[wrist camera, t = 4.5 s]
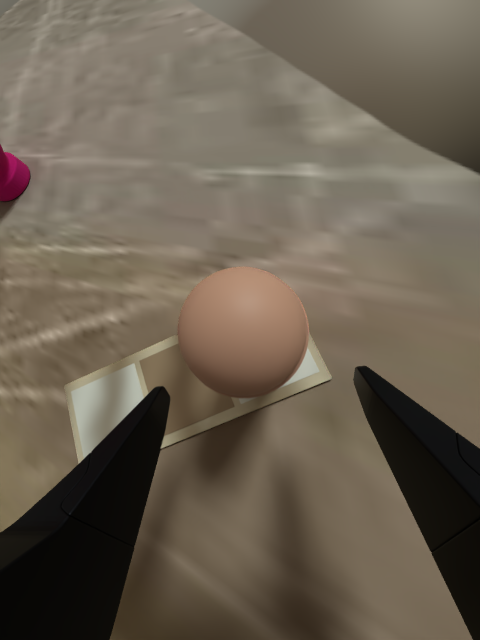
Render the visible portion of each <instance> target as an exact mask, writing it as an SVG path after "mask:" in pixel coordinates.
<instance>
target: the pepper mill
mask: <svg viewBox="0 0 480 640" xmlns="http://www.w3.org/2000/svg"><path fill="white" fill-rule="evenodd" d="M29 180H30V171H29V169H28V167H27V166H26V165H25V164H24V163H23V162H22V161H20V160H19V159H18V158H16V157H15V156H14V155H12V154H11V153H7V152H4V151H3V149H2V147H1V145H0V201H10V200H13V199H15V198H16V197H18V196H19V195H20V194H21V193H22V192H23V191H24V190H25V188H26V187H27V185H28V183H29Z"/></svg>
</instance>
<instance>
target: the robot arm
mask: <svg viewBox="0 0 480 640" xmlns="http://www.w3.org/2000/svg"><path fill="white" fill-rule="evenodd" d="M353 381H354V385H355V388H356V391H357V394H358V396H359V399H360V402H361V405H362V408H363V411H364V413H365V416H366V418H367V421H368V423H369V425H370V427H371V429H372V431H373V433H374V435H375V437H376V439H377V442H378V444H379V446H380V448H381V450H382V452H383V454H384V456H385V458H386V460H387V462H388V464H389V466H390V468H391V471H392V473H393V475H394V477H395V479H396V481H397V483H398V485H399V487H400V489H401V491H402V493H403V495H404V497H405V499H406V502H407V504H408V506H409V508H410V510H411V512H412V514H413V516H414V518H415V520H416V522H417V524H418V526H419V528H420V531H421V533H422V535H423V537H424V539H425V541H426V543H427V545H428V547H429V549H430V551H431V552H432V556H433V558H434V560H435V562H436V564H437V566H438V568H439V570H440V572H441V574H442V576H443V578H444V581H445V583H446V585H447V587H448V589H449V591H450V593H451V595H452V597H453V599H454V601H455V603H456V605H457V607H458V610H459V612H460V614H461V616H462V618H463V620H464V622H465V624H466V626H467V628H468V630H469V632H470V634H471V636H472V639H473V640H480V449H479V448H478V447H477V446H475V445H474V444H472V443H471V442H470V441H468V440H467V439H465V438H464V437H463V436H461V435H460V434H459V433H456V432H455V431H454V430H453V429H452V428H450V427H449V426H448V425H446V424H445V423H444V422H442V421H441V420H439V419H438V418H437V417H435V416H434V415H433V414H431V413H430V412H428V411H427V410H426V409H424V408H423V407H422V406H420V405H419V404H418V403H416V402H415V401H413V400H412V399H411V398H409V397H408V396H407V395H405V394H404V393H403V392H401V391H400V390H398V389H397V388H396V387H394V386H393V385H392V384H390V383H389V382H388V381H386V380H385V379H383V378H382V377H381V376H379V375H378V374H377V373H375V372H374V371H372V370H371V369H370V368H368V367H367V366H358V367H356V368H355V372H354V379H353ZM169 406H170V395H169V393H168V392H167V390H166V388H165V387H164V386H157V387H155V388H153V389H152V390H151V391H150V392H149V393H148V394H147V395H146V396H145V397H144V398H143V399H142V401H141V402H140V403H139V404H138V405H137V406H136V407H135V408H134V409H133V410H132V411H131V412H130V413H129V414H128V415H127V416H126V417H125V418H124V419H123V420H122V421H121V422H120V423H119V424H118V425H117V426H116V427H115V428H114V429H113V430H112V431H111V432H110V433H109V434H108V435H107V436H106V437H105V438H104V439H103V440H102V441H101V442H100V443H99V444H98V445H97V446H96V447H95V448H94V449H93V450H92V451H91V453H89V454H88V455H87V456H86V457H85V458H84V459H83V460H82V461H81V462H80V463H79V464H78V465H77V466H76V467H75V468H74V469H73V470H72V471H71V472H70V473H69V474H68V475H67V476H66V477H65V478H63V479H62V480H61V481H60V482H59V483H58V484H57V485H56V486H55V487H54V488H53V489H52V490H50V491H49V492H48V493H47V494H46V495H45V496H44V497H43V498H42V499H41V500H39V501H38V502H37V503H36V504H35V505H34V506H33V507H32V508H31V509H30V510H28V511H27V512H26V513H25V514H24V515H23V516H22V517H21V518H19V519H18V520H17V521H16V522H15V523H13V524H12V525H11V526H9V527H8V528H7V529H5V530H4V531H2V532H0V640H109V639H110V636H111V633H112V629H113V626H114V622H115V618H116V614H117V611H118V607H119V603H120V599H121V596H122V592H123V588H124V585H125V581H126V577H127V573H128V570H129V566H130V562H131V558H132V555H133V551H134V546H135V543H136V539H137V535H138V532H139V528H140V524H141V521H142V517H143V513H144V509H145V506H146V502H147V498H148V494H149V491H150V487H151V483H152V479H153V476H154V472H155V468H156V464H157V461H158V457H159V453H160V450H161V446H162V442H163V438H164V434H165V430H166V425H167V419H168V412H169Z"/></svg>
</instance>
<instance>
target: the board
mask: <svg viewBox="0 0 480 640" xmlns="http://www.w3.org/2000/svg"><path fill="white" fill-rule="evenodd" d="M330 379H332V377H331V375H330V373H329V371H328V369H327V367H326V365H325V363H324V361H323V359H322V357H321V355H320V353H319V351H318V349H317V347H316V345H315V343H314V341H313V339H312V337H311V335H310V333H309V341H308V347H307V351H306V354H305V357H304V359H303V361H302V363H301V365H300V367H299V368H298V370H297V371H296V373H295V374H294V375H293V376H292V377H291V378H290V380H288V381H287V382H286V383H285V384H284V385H283V386H281V387H280V388H278V389H276V390H275V391H273V392H270V393H268V394H266V395H262V396H259V397H254V398H234V397H229V396H225V395H222V394H220V393H217V392H215V391H213V390H212V389H210V388H208V387H207V386H206V385H205V384H203V383H202V382H201V381H200V380H199V379H198V378H197V377H196V376H195V375H194V374H193V373H192V371H191V370H190V368H189V367H188V366H187V364H186V362H185V360H184V358H183V356H182V353H181V351H180V347H179V343H178V334H177V335H175V336H172V337H170V338H168V339H166V340H164V341H161V342H159V343H157V344H155V345H153V346H150V347H148V348H146V349H144V350H142V351H139V352H137V353H135V354H133V355H130V356H128V357H126V358H124V359H122V360H119V361H117V362H115V363H113V364H111V365H108V366H106V367H104V368H102V369H100V370H97V371H95V372H93V373H91V374H89V375H86V376H84V377H82V378H80V379H78V380H75V381H73V382H71V383H69V384H66V385H64V388H65V393H66V398H67V404H68V409H69V414H70V420H71V425H72V430H73V436H74V441H75V446H76V452H77V457H78V462H79V463H80V462H81V461H82V460H83V459H84V458H85V457H86V456H87V455H88V454H89V453H91V451H92V450H93V449H94V448H95V447H96V446H97V445H98V444H99V443H100V442H101V441H102V440H103V439H104V438H105V437H106V436H107V435H108V434H109V433H110V432H111V431H112V430H113V429H114V428H115V427H116V426H117V425H118V424H119V423H120V422H121V421H122V420H123V419H124V418H125V417H126V416H127V415H128V414H129V413H130V412H131V411H132V410H133V409H134V408H135V407H136V406H137V405H138V404H139V403H140V402H141V401H142V399H143V398H144V397H145V396H146V395H147V394H148V393H149V392H150V391H151V390H152V389H153V388H155V387H157V386H164V387H165V388H166V390H167V392H168V393H169V395H170V406H169V412H168V419H167V425H166V430H165V434H164V438H163V442H162V446H161V448H164V447H166V446H168V445H171V444H173V443H176V442H178V441H181V440H183V439H186V438H188V437H190V436H193V435H195V434H198V433H200V432H203V431H205V430H208V429H210V428H212V427H215V426H217V425H220V424H222V423H225V422H227V421H230V420H232V419H234V418H237V417H239V416H242V415H244V414H247V413H249V412H252V411H254V410H257V409H259V408H261V407H264V406H266V405H269V404H271V403H274V402H276V401H279V400H281V399H283V398H286V397H288V396H291V395H293V394H296V393H298V392H301V391H303V390H305V389H308V388H310V387H313V386H315V385H318V384H320V383H323V382H325V381H327V380H330Z"/></svg>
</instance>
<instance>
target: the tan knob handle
mask: <svg viewBox="0 0 480 640" xmlns="http://www.w3.org/2000/svg"><path fill="white" fill-rule="evenodd" d="M308 341H309V325H308V319H307V315H306V312H305V309H304V307H303V305H302V303H301V301H300V299H299V298H298V296H297V295H296V294H295V292H294V291H293V290H292V289H291V288H290V287H289V286H288V285H287V284H286V283H284V282H283V281H282V280H280V279H279V278H278V277H276V276H274V275H273V274H271V273H269V272H266V271H264V270H261V269H257V268H252V267H233V268H228V269H223V270H221V271H218V272H215V273H213V274H211V275H210V276H208V277H206V278H205V279H204V280H202V281H201V282H200V283H199V284H198V285H197V286H196V287H195V288H194V289H193V290H192V291H191V293H190V294H189V295H188V297H187V299H186V300H185V302H184V304H183V307H182V309H181V312H180V316H179V321H178V343H179V347H180V351H181V353H182V356H183V358H184V360H185V362H186V364H187V366H188V367H189V368H190V370H191V371H192V373H193V374H194V375H195V376H196V377H197V378H198V379H199V380H200V381H201V382H202V383H203V384H205V385H206V386H207V387H208V388H210V389H212V390H213V391H215V392H217V393H220V394H222V395H225V396H229V397H234V398H254V397H259V396H262V395H266V394H268V393H270V392H273V391H275V390H276V389H278V388H280V387H281V386H283V385H284V384H285V383H286V382H287V381H288V380H290V378H291V377H292V376H293V375H294V374H295V373H296V371H297V370H298V368H299V367H300V365H301V363H302V361H303V359H304V357H305V354H306V351H307V347H308Z"/></svg>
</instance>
